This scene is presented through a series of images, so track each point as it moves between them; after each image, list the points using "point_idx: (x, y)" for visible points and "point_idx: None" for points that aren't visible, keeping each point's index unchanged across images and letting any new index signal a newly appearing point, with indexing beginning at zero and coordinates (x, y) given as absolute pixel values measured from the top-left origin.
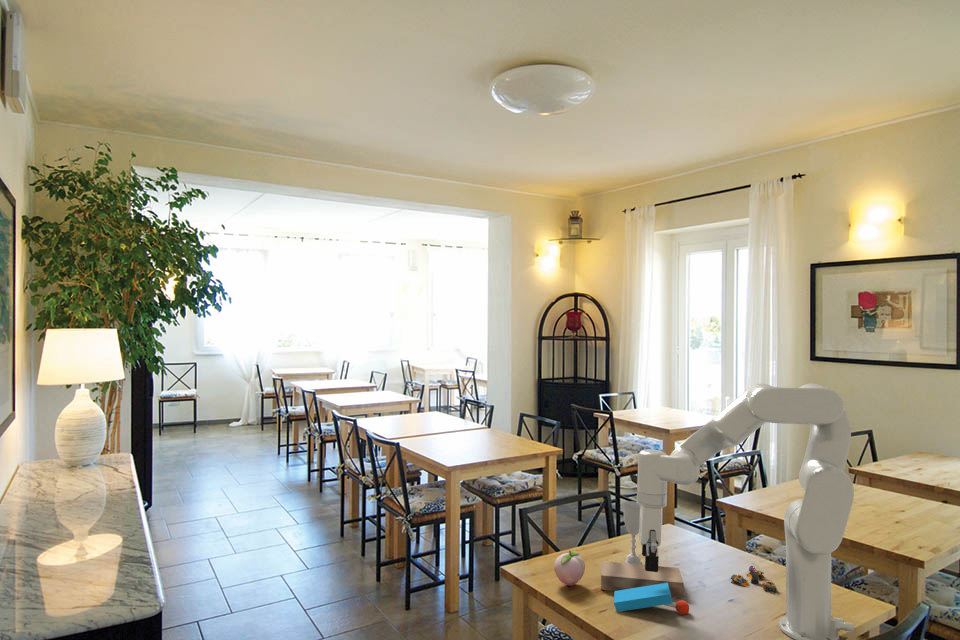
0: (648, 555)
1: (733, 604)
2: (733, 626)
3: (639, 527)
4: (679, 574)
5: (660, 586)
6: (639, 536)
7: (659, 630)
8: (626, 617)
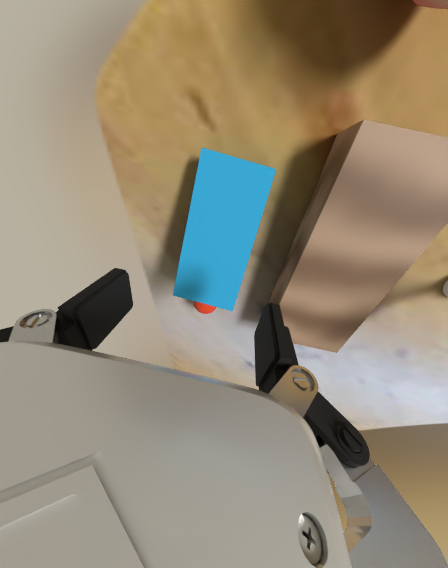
0: (36, 318)
1: (237, 362)
2: (176, 339)
3: (100, 546)
4: (304, 343)
5: (223, 290)
6: (125, 387)
7: (137, 238)
8: (174, 180)
